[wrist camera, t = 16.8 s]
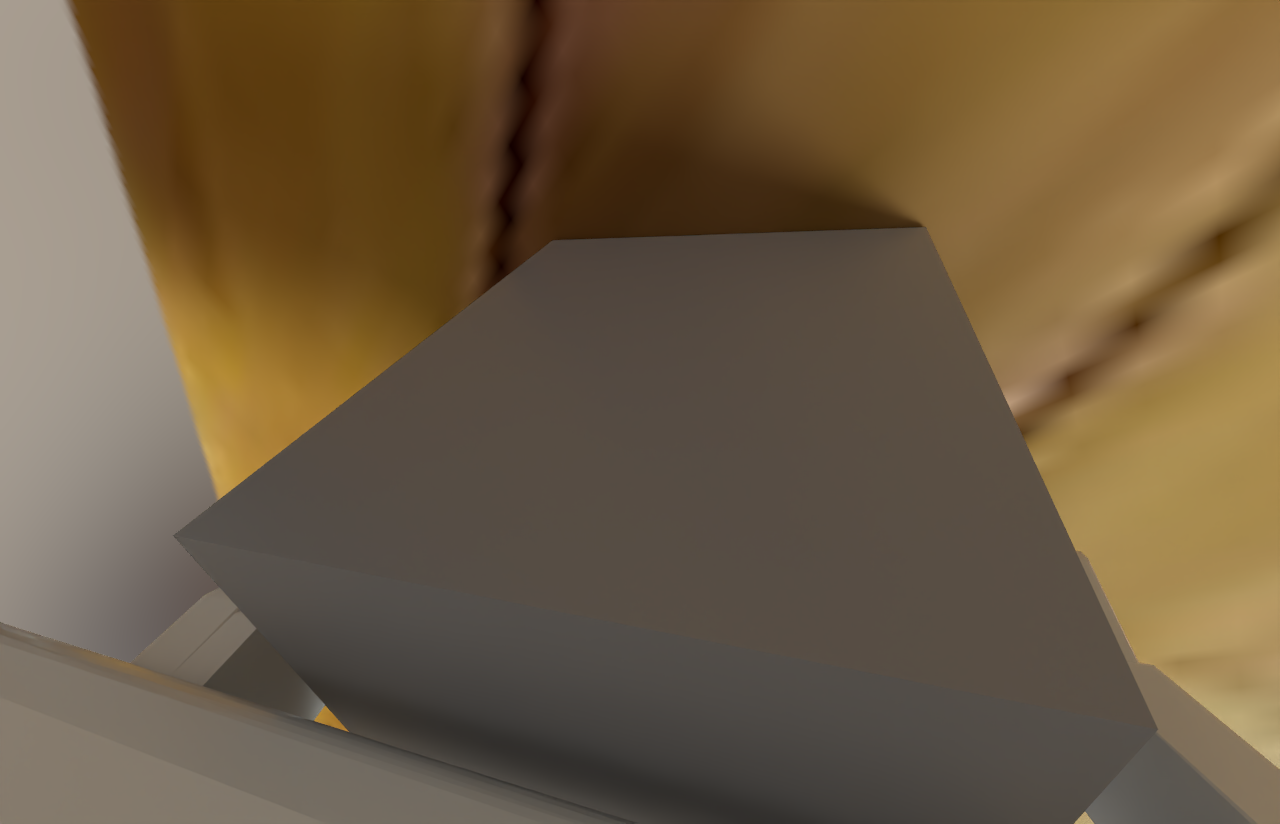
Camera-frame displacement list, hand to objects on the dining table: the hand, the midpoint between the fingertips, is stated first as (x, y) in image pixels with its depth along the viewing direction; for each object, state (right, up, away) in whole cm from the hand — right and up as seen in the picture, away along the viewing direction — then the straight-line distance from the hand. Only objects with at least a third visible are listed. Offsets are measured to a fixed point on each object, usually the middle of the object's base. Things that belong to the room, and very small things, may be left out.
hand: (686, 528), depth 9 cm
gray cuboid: (+1, +3, +4) cm, 5 cm away
